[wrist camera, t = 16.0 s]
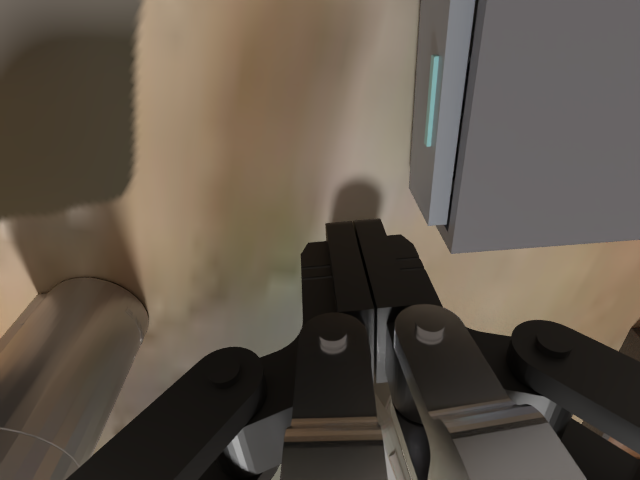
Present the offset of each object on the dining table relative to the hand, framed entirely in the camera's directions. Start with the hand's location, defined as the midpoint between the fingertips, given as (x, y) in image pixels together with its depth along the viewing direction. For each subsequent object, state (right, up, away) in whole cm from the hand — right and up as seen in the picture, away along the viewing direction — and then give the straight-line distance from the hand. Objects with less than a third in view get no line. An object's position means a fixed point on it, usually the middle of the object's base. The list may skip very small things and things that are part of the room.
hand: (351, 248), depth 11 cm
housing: (+13, +12, +16) cm, 24 cm away
